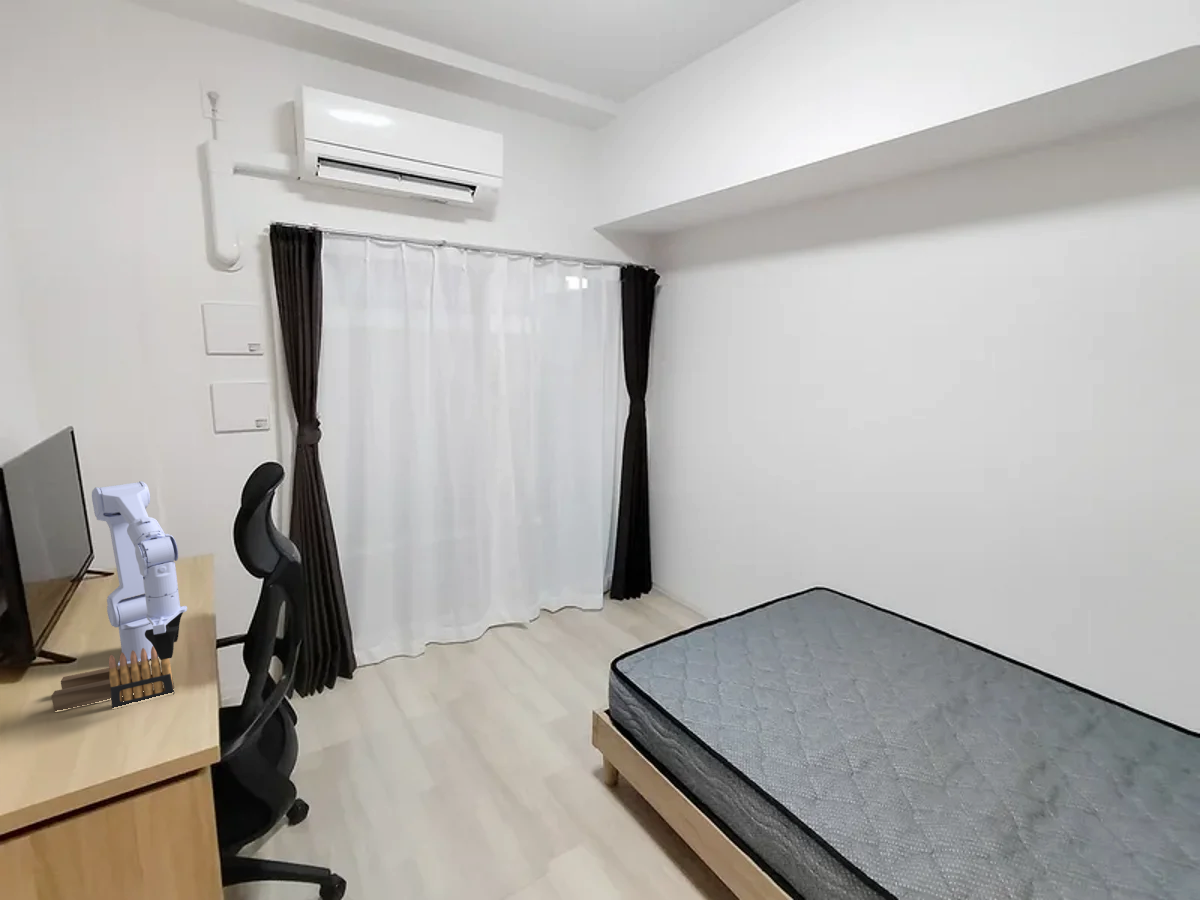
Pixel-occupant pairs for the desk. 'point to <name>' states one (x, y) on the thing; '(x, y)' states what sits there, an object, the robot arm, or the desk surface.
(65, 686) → the walnut rack
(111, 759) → the desk surface
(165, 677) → the ammunition clip
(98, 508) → the robot arm
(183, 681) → the desk surface
